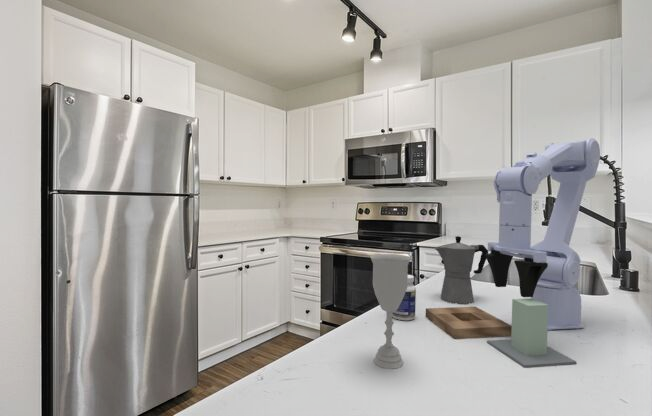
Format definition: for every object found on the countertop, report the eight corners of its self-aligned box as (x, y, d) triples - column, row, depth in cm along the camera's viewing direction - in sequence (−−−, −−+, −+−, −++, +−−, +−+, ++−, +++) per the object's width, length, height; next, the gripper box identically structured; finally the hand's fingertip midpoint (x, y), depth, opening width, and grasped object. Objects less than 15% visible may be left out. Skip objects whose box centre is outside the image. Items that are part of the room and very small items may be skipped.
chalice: (400, 376, 53) (402, 262, 53) (361, 364, 57) (363, 258, 56) (414, 358, 59) (416, 256, 59) (378, 348, 63) (380, 252, 62)
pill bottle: (416, 322, 77) (416, 279, 77) (390, 320, 78) (391, 277, 78) (414, 314, 83) (415, 273, 82) (390, 312, 84) (391, 272, 84)
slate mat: (532, 340, 68) (532, 338, 68) (576, 363, 58) (576, 361, 58) (486, 342, 66) (487, 340, 66) (524, 367, 56) (524, 365, 56)
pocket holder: (475, 314, 83) (475, 306, 83) (512, 335, 70) (512, 326, 70) (425, 316, 81) (425, 308, 81) (454, 338, 68) (454, 328, 68)
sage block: (529, 345, 64) (531, 298, 64) (546, 354, 60) (548, 304, 60) (511, 346, 64) (512, 299, 64) (526, 355, 60) (528, 305, 60)
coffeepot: (440, 304, 90) (442, 238, 90) (428, 294, 100) (429, 234, 99) (496, 304, 91) (497, 238, 91) (478, 294, 101) (479, 234, 100)
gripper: (475, 222, 75) (474, 283, 76) (523, 228, 61) (521, 302, 61) (504, 223, 76) (502, 282, 77) (557, 228, 62) (555, 301, 62)
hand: (513, 291), depth 69 cm, fingers open, 7 cm apart
